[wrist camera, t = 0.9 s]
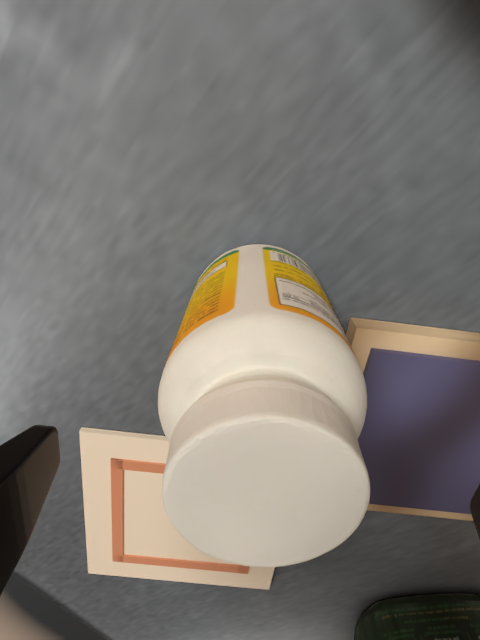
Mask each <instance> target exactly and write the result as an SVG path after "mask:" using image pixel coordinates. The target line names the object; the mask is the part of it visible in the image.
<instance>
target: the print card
mask: <svg viewBox="0 0 480 640" xmlns="http://www.w3.org/2000/svg"><path fill="white" fill-rule="evenodd" d="M79 434H80V450H81V466H82V482H83V498H84V513H85V529H86V545H87V561H88V573H91V574H102V575H113V576H124V577H135V578H146V579H157V580H168V581H179V582H189V583H200V584H211V585H222V586H233V587H244V588H255V589H266V590H269V588H270V584H271V580H272V576H273V573H274V569H275V567H250V566H243V565H239V564H233V563H229V562H225V561H222V560H219V559H217V558H214V557H212V556H210V555H207V554H205V553H204V552H202V551H200V550H198V549H197V548H195V547H194V546H192V545H191V544H190V543H189V542H188V541H187V540H185V539H184V538H183V537H182V536H181V535H180V534H179V532H178V531H177V530H176V529H175V528H174V526H173V525H172V523H171V521H170V520H169V518H168V516H167V513H166V511H165V508H164V505H163V497H162V482H163V474H164V470H165V465H166V461H167V456H168V452H169V444H170V443H169V441H168V440H167V438H166V436H159V435H150V434H140V433H131V432H122V431H113V430H103V429H94V428H85V427H82V428H81V429H80V431H79Z"/></svg>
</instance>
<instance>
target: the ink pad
mask: <svg viewBox="0 0 480 640" xmlns="http://www.w3.org/2000/svg"><path fill="white" fill-rule="evenodd" d="M346 337H347V339H348V341H349V343H350V345H351V347H352V349H353V351H354V353H355V355H356V358H357V360H358V362H359V365H360V367H361V369H362V372H363V375H364V379H365V383H366V389H367V411H366V417H365V422H364V425H363V428H362V431H361V433H360V436H359V438H358V442H359V447H360V450H361V453H362V456H363V459H364V462H365V465H366V468H367V471H368V475H369V480H370V500H369V504H368V507H367V510H370V511H380V512H390V513H400V514H410V515H419V516H429V517H439V518H449V519H459V520H469V521H473V518H472V515H471V512H470V501H471V499H472V497H473V495H474V493H475V491H476V489H477V488H478V486H479V484H480V333H474V332H466V331H458V330H450V329H442V328H434V327H426V326H418V325H410V324H401V323H393V322H385V321H377V320H369V319H361V318H353V317H350V321H349V324H348V328H347V332H346Z"/></svg>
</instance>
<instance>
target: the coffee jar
mask: <svg viewBox="0 0 480 640" xmlns="http://www.w3.org/2000/svg"><path fill="white" fill-rule="evenodd" d="M354 640H480V595H476V594H435V595H417V596H408V597H399V598H392V599H387V600H382V601H379V602H377V603H375V604H374V605H372V606H371V607H370V608H369V609H368V610H367V611H366V612H365V613H363V614H362V615H361V617H360V618H359V620H358V622H357V624H356V627H355V634H354Z"/></svg>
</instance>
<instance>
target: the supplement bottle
mask: <svg viewBox="0 0 480 640" xmlns="http://www.w3.org/2000/svg"><path fill="white" fill-rule="evenodd" d="M158 411H159V417H160V421H161V425H162V428H163V431H164V433H165V436H166V438H167V440H168V441H169V443H170V444H169V452H168V456H167V461H166V465H165V470H164V474H163V482H162V497H163V505H164V508H165V511H166V513H167V516H168V518H169V520H170V521H171V523H172V525H173V526H174V528H175V529H176V530H177V531H178V532H179V534H180V535H181V536H182V537H183V538H184V539H185V540H187V541H188V542H189V543H190V544H191V545H192V546H194V547H195V548H197V549H198V550H200V551H202V552H204V553H205V554H207V555H210V556H212V557H214V558H217V559H219V560H222V561H225V562H229V563H233V564H239V565H243V566H250V567H281V566H288V565H292V564H297V563H302V562H305V561H308V560H311V559H314V558H316V557H319V556H321V555H322V554H324V553H326V552H328V551H331V550H332V549H334V548H335V547H337V546H339V545H340V544H341V543H343V542H344V541H345V540H346V539H347V538H348V537H349V536H350V535H351V534H352V533H353V532H354V531H355V530H356V529H357V528H358V526H359V524H360V522H361V521H362V519H363V517H364V515H365V513H366V510H367V507H368V504H369V500H370V480H369V475H368V471H367V468H366V465H365V462H364V459H363V456H362V453H361V450H360V447H359V442H358V438H359V436H360V433H361V431H362V428H363V425H364V422H365V417H366V411H367V389H366V383H365V379H364V375H363V372H362V369H361V367H360V365H359V362H358V360H357V358H356V355H355V353H354V351H353V349H352V347H351V345H350V343H349V341H348V339H347V337H346V335H345V333H344V331H343V329H342V327H341V325H340V323H339V321H338V319H337V317H336V315H335V313H334V311H333V309H332V307H331V305H330V303H329V300H328V298H327V296H326V294H325V292H324V290H323V288H322V286H321V284H320V282H319V280H318V279H317V277H316V275H315V274H314V272H313V271H312V270H311V268H310V267H309V266H308V265H307V264H306V263H305V262H304V261H303V260H302V259H300V258H299V257H298V256H296V255H295V254H293V253H291V252H289V251H287V250H285V249H282V248H280V247H276V246H271V245H261V244H255V245H246V246H241V247H238V248H235V249H232V250H230V251H228V252H226V253H224V254H222V255H221V256H220V257H218V258H217V259H216V260H214V261H213V262H212V263H211V264H210V265H209V266H208V267H207V268H206V269H205V271H204V272H203V273H202V275H201V276H200V278H199V280H198V282H197V284H196V286H195V288H194V291H193V293H192V296H191V299H190V301H189V304H188V307H187V310H186V312H185V315H184V318H183V320H182V323H181V326H180V328H179V331H178V334H177V336H176V339H175V341H174V344H173V347H172V349H171V352H170V354H169V357H168V359H167V362H166V365H165V368H164V371H163V374H162V377H161V381H160V385H159V391H158Z"/></svg>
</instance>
